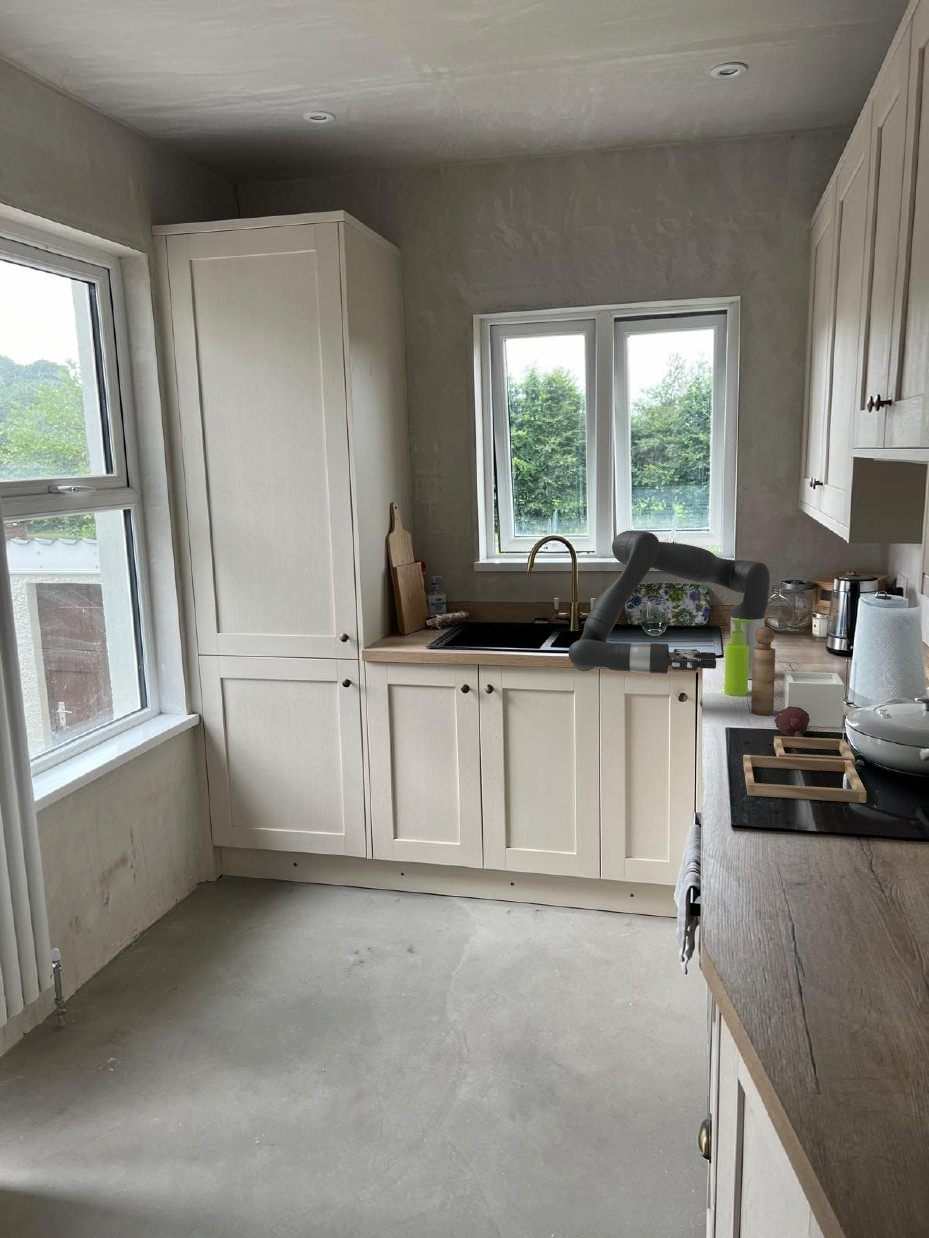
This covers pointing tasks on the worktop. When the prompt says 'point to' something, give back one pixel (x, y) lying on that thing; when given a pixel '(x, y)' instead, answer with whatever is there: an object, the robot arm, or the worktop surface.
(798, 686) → the plinth
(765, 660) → the pepper mill
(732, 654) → the soap dispenser
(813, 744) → the frame
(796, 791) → the frame
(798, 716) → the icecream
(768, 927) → the worktop surface
